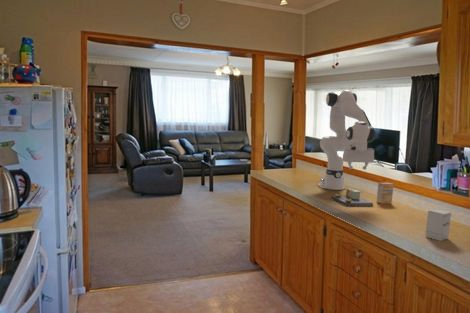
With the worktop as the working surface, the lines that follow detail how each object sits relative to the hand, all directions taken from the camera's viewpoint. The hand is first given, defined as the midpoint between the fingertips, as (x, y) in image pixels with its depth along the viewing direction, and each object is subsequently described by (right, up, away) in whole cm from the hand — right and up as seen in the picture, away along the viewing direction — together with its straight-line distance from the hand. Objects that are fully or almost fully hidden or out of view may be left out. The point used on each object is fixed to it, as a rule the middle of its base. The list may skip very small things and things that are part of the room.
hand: (357, 169), depth 246 cm
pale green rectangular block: (-1, -19, +2) cm, 19 cm away
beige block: (-2, -18, +8) cm, 20 cm away
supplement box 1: (+18, -22, +4) cm, 29 cm away
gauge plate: (-4, -21, +1) cm, 21 cm away
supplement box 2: (+16, -30, -66) cm, 74 cm away
